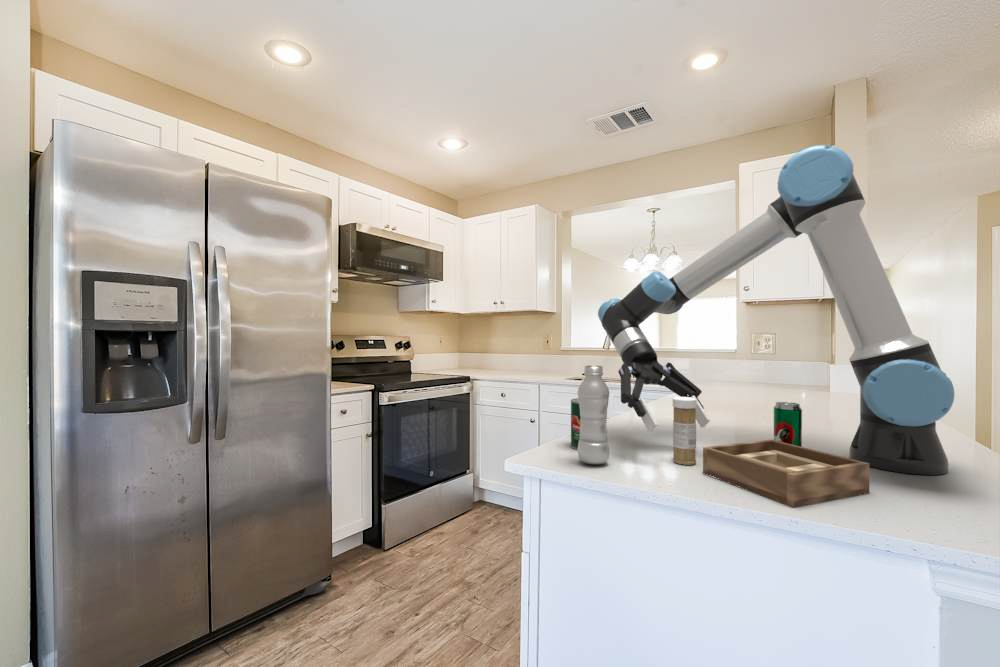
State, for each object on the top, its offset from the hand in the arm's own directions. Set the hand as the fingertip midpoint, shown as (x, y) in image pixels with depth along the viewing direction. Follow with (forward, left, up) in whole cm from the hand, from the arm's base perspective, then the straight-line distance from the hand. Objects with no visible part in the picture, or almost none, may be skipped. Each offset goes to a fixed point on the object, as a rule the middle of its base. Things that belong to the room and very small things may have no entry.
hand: (680, 426), depth 94 cm
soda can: (-22, +7, -8) cm, 25 cm away
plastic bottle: (+18, -5, -8) cm, 20 cm away
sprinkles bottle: (0, +1, -8) cm, 8 cm away
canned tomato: (+12, -17, -8) cm, 22 cm away
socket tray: (-7, +17, -7) cm, 20 cm away
